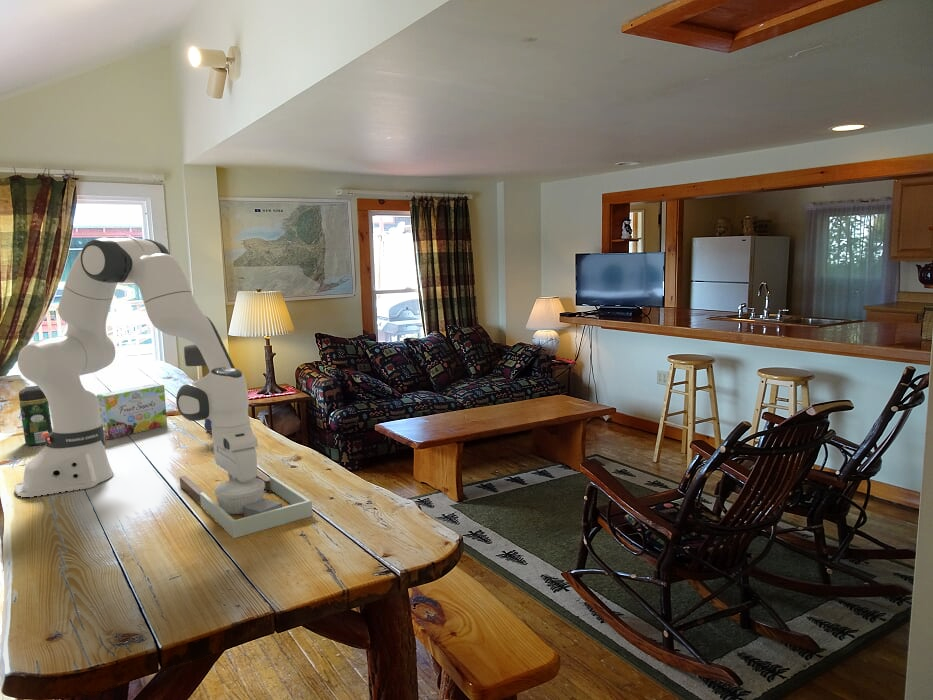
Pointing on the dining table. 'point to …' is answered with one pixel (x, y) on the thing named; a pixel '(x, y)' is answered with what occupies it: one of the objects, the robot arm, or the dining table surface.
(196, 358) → the rubber mallet
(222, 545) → the dining table surface
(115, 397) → the snack box
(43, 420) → the coffee jar
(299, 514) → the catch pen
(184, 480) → the runway rails
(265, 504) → the slate tile
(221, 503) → the ramekin
